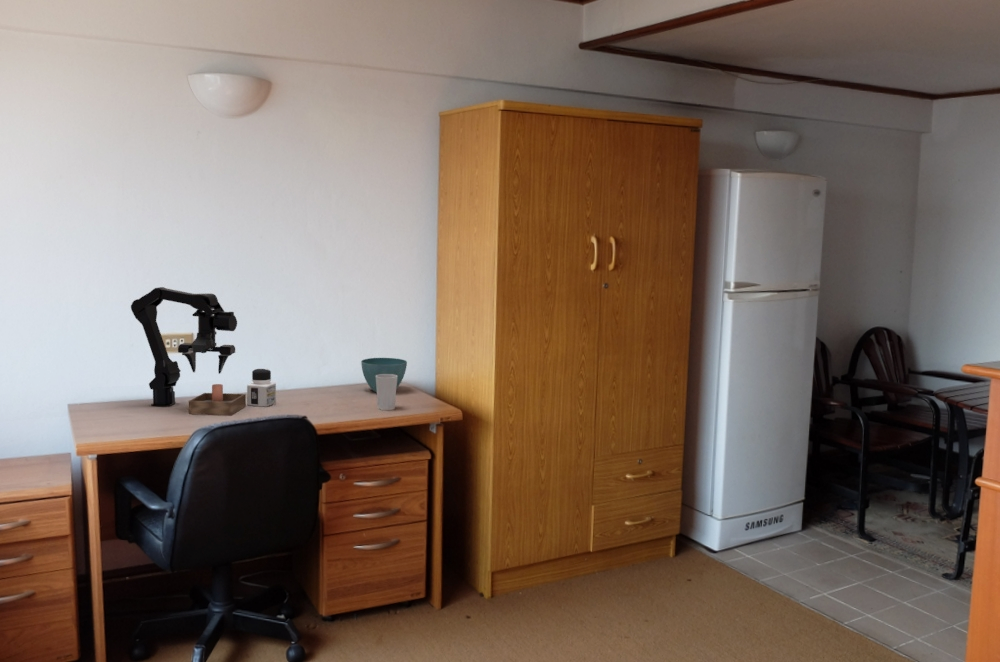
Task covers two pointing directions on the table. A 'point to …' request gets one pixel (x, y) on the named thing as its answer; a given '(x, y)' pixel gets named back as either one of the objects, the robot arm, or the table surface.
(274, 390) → the container
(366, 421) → the table surface
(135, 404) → the table surface
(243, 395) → the box
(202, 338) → the robot arm
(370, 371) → the teal bowl
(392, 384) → the cup
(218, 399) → the peg
